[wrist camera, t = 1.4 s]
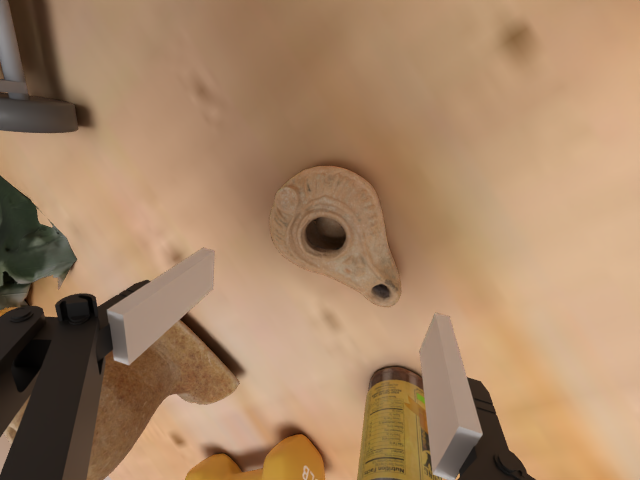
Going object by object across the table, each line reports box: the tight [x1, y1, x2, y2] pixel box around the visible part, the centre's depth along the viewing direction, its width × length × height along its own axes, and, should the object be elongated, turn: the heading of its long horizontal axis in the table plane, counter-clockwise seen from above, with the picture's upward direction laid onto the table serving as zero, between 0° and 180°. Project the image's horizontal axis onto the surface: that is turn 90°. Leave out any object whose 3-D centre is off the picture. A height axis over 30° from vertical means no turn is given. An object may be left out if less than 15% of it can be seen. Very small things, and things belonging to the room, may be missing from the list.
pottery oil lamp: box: [269, 166, 401, 307], centre depth 23 cm, size 9×12×7 cm
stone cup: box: [4, 320, 240, 480], centre depth 30 cm, size 15×12×15 cm
